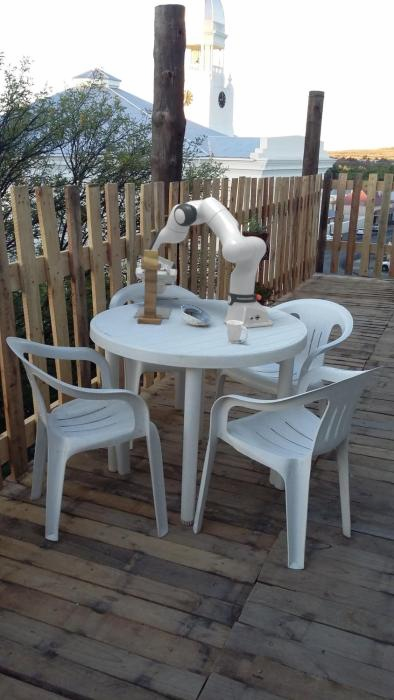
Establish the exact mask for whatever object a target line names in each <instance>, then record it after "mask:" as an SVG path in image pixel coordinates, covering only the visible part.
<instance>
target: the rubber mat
mask: <svg viewBox="0 0 394 700" xmlns="http://www.w3.org/2000/svg"><path fill="white" fill-rule="evenodd" d="M171 308H172V307H160V306H156V315H162V320H169V319H170V315H171V313H170V312H172V309H171ZM140 314H144V306H143V305H141V306H138V309H137V310H136V311H135V314H134V316H133V318H135V319H138V318H139V316H140Z"/></svg>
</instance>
